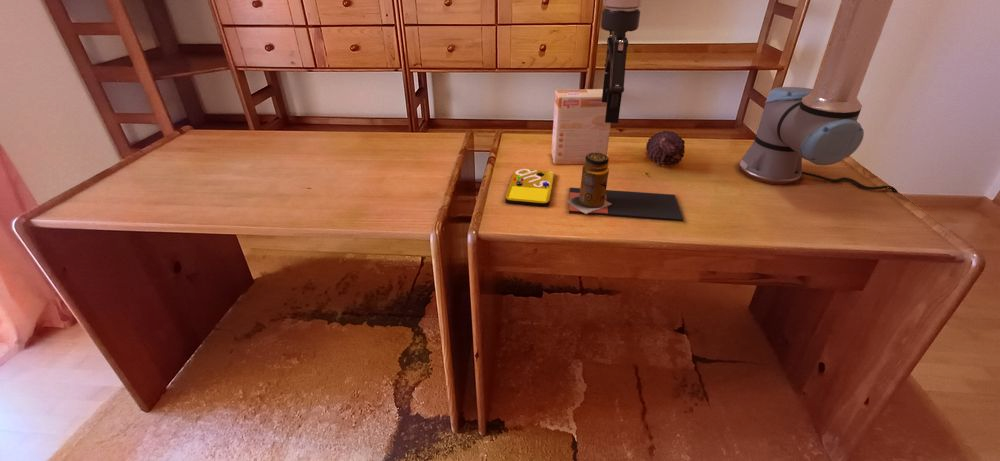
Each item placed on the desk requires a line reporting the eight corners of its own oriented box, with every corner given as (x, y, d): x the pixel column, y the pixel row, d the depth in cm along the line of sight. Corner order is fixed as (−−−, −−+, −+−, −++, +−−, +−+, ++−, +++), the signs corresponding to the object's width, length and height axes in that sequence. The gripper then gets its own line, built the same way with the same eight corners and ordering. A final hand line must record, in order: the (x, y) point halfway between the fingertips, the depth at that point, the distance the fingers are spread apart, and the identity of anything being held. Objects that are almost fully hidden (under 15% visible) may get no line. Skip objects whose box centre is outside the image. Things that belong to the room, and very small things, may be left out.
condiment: (611, 204, 115) (618, 158, 108) (585, 214, 111) (591, 167, 104) (591, 192, 120) (596, 147, 113) (564, 201, 116) (569, 155, 109)
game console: (550, 207, 115) (550, 202, 114) (504, 203, 116) (504, 198, 115) (554, 174, 130) (554, 169, 129) (513, 171, 131) (513, 167, 130)
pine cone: (629, 151, 143) (647, 121, 141) (656, 166, 146) (674, 137, 143) (654, 160, 126) (675, 126, 124) (683, 177, 129) (704, 144, 127)
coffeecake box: (600, 154, 142) (609, 88, 131) (606, 164, 136) (615, 96, 125) (550, 154, 141) (555, 88, 131) (553, 165, 135) (558, 96, 125)
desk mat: (674, 196, 120) (674, 193, 119) (682, 221, 110) (683, 218, 109) (569, 189, 123) (570, 186, 122) (568, 213, 113) (569, 210, 112)
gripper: (599, -1, 106) (590, 94, 118) (606, 18, 86) (594, 131, 97) (634, -1, 105) (621, 95, 117) (649, 18, 85) (632, 132, 96)
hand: (609, 111), depth 107 cm, fingers open, 13 cm apart
